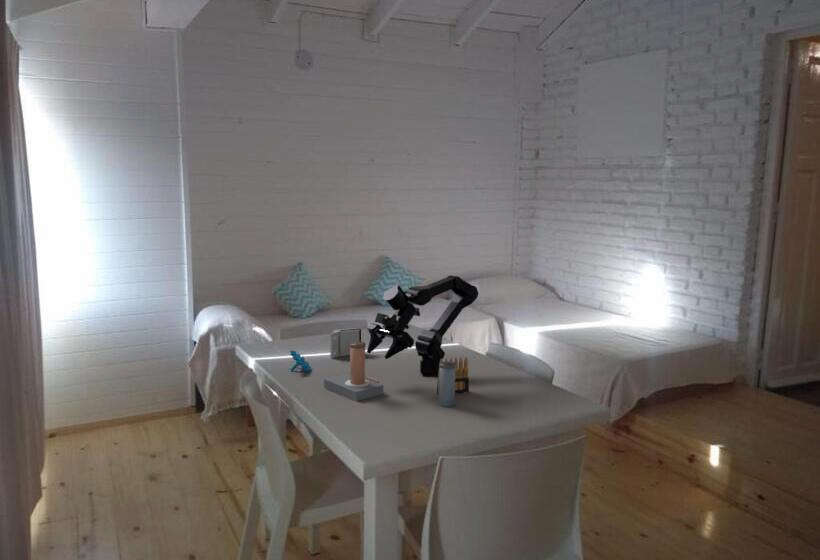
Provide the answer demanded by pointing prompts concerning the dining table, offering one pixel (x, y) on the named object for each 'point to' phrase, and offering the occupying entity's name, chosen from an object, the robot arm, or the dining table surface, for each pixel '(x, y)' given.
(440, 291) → the robot arm
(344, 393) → the dock unit
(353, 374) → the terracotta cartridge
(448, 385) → the cylinder
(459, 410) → the dining table surface
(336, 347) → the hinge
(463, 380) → the ammunition clip
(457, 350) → the dining table surface
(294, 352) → the gear
